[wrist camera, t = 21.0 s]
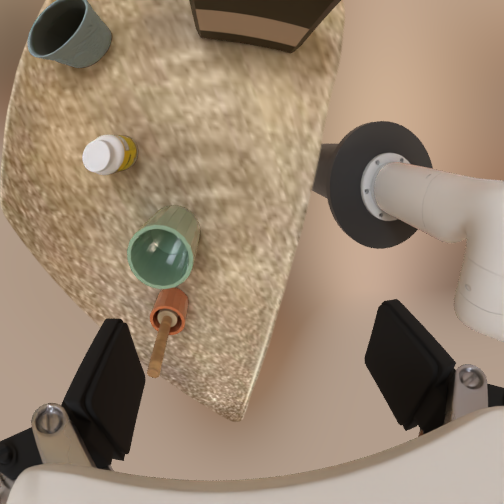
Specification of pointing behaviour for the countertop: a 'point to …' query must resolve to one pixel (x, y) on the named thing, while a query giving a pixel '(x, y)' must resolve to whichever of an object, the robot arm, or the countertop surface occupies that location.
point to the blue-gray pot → (69, 34)
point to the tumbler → (165, 248)
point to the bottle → (260, 21)
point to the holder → (173, 301)
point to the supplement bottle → (110, 154)
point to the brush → (161, 340)
